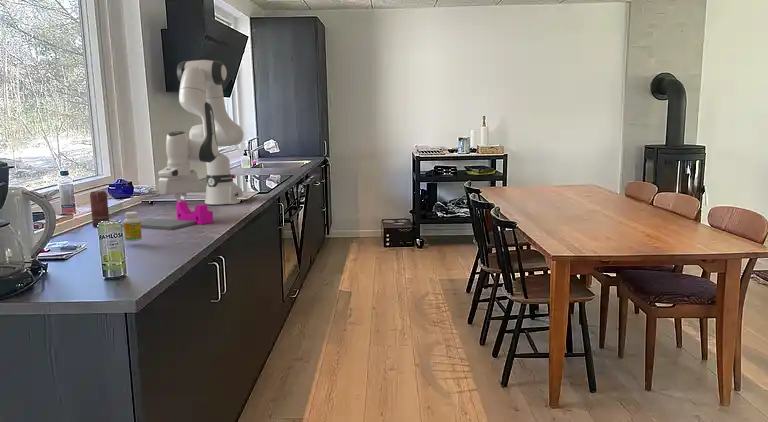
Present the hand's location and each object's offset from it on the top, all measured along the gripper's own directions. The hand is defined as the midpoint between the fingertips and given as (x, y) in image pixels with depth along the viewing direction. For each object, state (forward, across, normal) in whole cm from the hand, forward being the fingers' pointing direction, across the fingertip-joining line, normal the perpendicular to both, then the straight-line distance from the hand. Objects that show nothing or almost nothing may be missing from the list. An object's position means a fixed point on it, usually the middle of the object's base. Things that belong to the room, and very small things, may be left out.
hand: (181, 203), depth 241 cm
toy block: (+7, +2, +8) cm, 11 cm away
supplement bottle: (+7, +40, +14) cm, 43 cm away
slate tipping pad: (+7, +13, 0) cm, 14 cm away
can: (+7, +22, -22) cm, 32 cm away
